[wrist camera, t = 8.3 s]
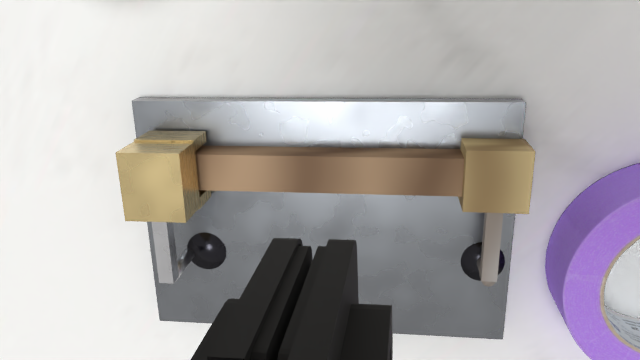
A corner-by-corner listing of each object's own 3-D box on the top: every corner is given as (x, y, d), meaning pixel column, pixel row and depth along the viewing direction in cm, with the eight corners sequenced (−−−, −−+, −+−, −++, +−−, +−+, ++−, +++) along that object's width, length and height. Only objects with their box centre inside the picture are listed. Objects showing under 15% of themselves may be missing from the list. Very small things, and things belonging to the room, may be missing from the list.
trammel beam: (524, 138, 29) (535, 151, 27) (511, 268, 31) (520, 289, 29) (136, 134, 32) (116, 145, 29) (151, 253, 34) (134, 272, 32)
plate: (521, 98, 29) (526, 102, 28) (499, 329, 34) (502, 339, 33) (139, 97, 32) (131, 100, 31) (165, 311, 36) (159, 320, 36)
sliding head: (205, 131, 31) (178, 151, 27) (216, 258, 33) (193, 294, 29) (149, 130, 31) (115, 150, 27) (164, 256, 34) (135, 291, 30)
